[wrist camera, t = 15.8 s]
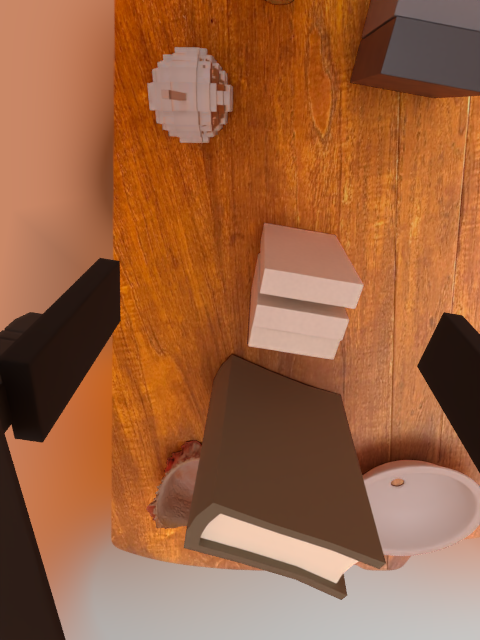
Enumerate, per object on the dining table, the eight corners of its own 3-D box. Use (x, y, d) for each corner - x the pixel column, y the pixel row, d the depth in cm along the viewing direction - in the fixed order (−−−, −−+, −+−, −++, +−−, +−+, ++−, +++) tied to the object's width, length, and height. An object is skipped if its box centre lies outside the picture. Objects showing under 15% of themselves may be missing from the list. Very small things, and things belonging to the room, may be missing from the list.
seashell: (212, 500, 76) (264, 469, 70) (207, 558, 67) (266, 528, 61) (142, 464, 70) (192, 426, 63) (126, 522, 61) (182, 485, 54)
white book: (264, 222, 46) (264, 268, 33) (335, 235, 46) (364, 284, 33) (260, 242, 47) (259, 293, 34) (330, 254, 48) (355, 309, 35)
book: (207, 389, 60) (176, 551, 38) (227, 350, 56) (205, 505, 34) (314, 429, 63) (341, 600, 41) (340, 394, 59) (385, 563, 37)
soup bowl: (492, 487, 67) (513, 523, 62) (377, 536, 76) (386, 570, 71) (422, 411, 60) (439, 443, 54) (303, 475, 68) (307, 508, 63)
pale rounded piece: (233, 139, 42) (219, 154, 29) (163, 138, 42) (119, 152, 29) (233, 54, 38) (218, 26, 25) (157, 53, 38) (102, 25, 25)
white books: (258, 252, 48) (256, 304, 35) (327, 264, 48) (349, 319, 36) (250, 296, 51) (246, 357, 38) (314, 306, 51) (331, 371, 39)
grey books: (386, -62, 33) (440, -135, 23) (484, -42, 33) (579, -107, 23) (349, 82, 38) (380, 73, 28) (434, 98, 39) (494, 94, 29)
